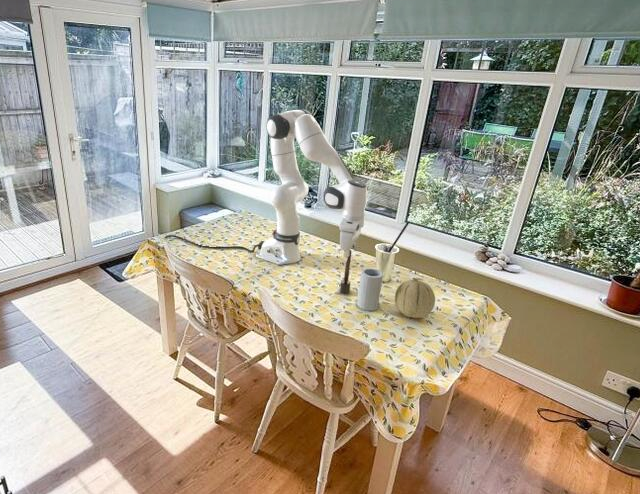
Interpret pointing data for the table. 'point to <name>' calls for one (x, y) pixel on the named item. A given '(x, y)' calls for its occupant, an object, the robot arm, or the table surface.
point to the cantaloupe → (414, 298)
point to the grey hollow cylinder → (369, 289)
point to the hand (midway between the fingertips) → (349, 252)
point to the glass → (387, 257)
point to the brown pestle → (346, 277)
